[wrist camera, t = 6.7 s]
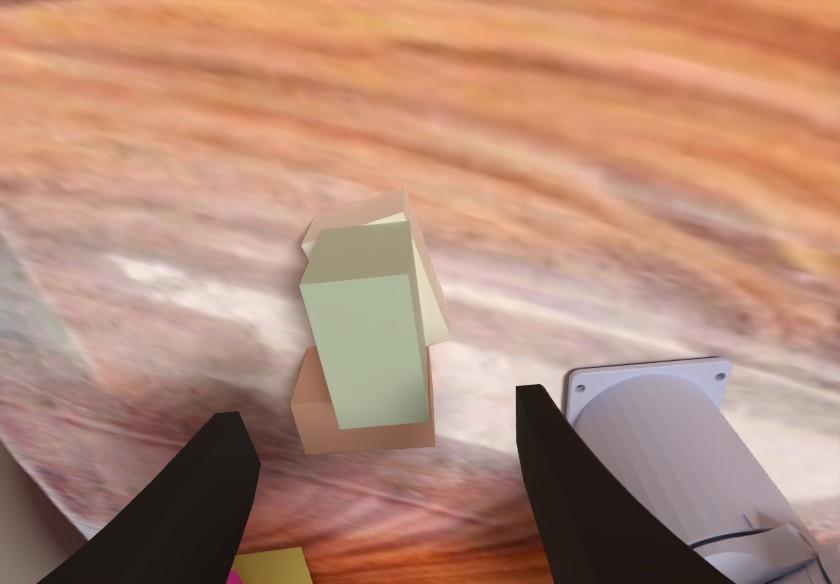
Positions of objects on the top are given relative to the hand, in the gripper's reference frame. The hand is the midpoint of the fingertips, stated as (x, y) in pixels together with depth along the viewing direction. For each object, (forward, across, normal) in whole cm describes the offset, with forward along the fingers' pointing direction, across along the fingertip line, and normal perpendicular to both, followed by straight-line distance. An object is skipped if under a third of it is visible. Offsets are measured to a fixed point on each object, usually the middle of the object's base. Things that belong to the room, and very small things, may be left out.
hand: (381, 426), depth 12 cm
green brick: (+7, +1, 0) cm, 7 cm away
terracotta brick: (+10, +2, +6) cm, 12 cm away
